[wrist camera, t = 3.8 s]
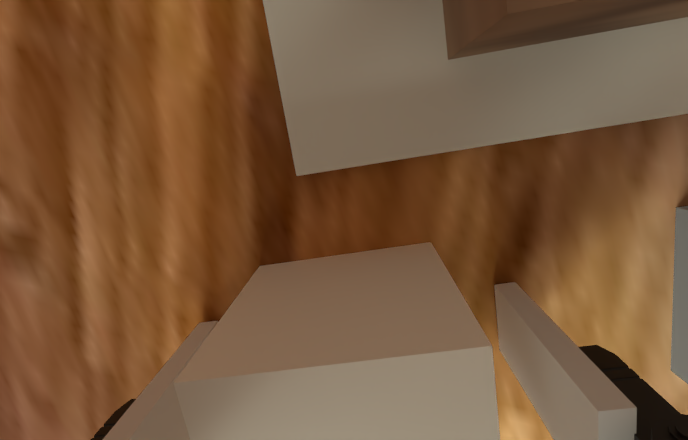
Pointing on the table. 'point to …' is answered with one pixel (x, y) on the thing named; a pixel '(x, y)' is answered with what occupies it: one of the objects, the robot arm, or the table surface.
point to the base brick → (543, 21)
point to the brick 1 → (345, 355)
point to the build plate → (454, 82)
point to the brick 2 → (680, 297)
